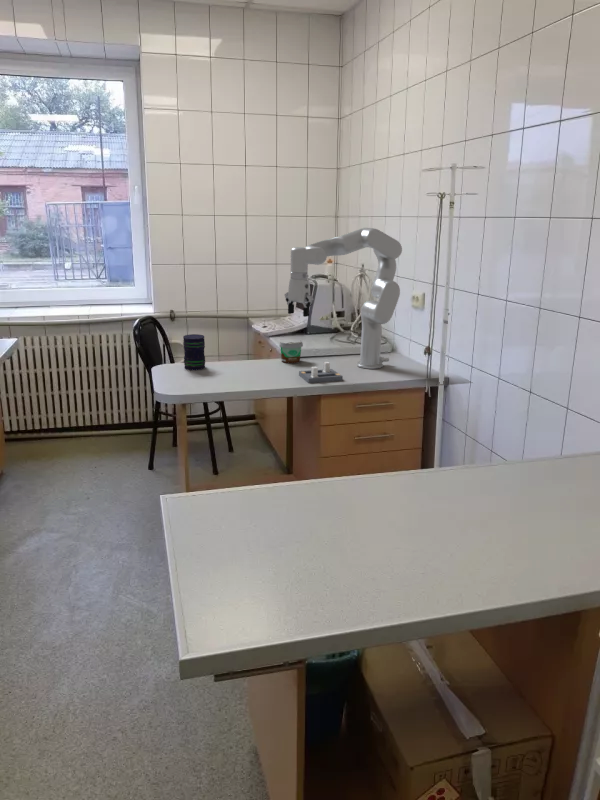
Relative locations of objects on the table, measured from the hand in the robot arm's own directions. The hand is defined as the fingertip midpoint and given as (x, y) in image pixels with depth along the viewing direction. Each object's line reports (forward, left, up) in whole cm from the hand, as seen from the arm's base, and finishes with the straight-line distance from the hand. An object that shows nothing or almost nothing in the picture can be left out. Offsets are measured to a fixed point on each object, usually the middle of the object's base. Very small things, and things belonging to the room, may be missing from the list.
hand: (298, 314), depth 278 cm
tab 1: (-3, +14, -26) cm, 30 cm away
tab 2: (-11, +8, -26) cm, 29 cm away
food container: (-4, -19, -27) cm, 33 cm away
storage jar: (+44, -21, -27) cm, 56 cm away
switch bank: (-7, +11, -27) cm, 30 cm away
